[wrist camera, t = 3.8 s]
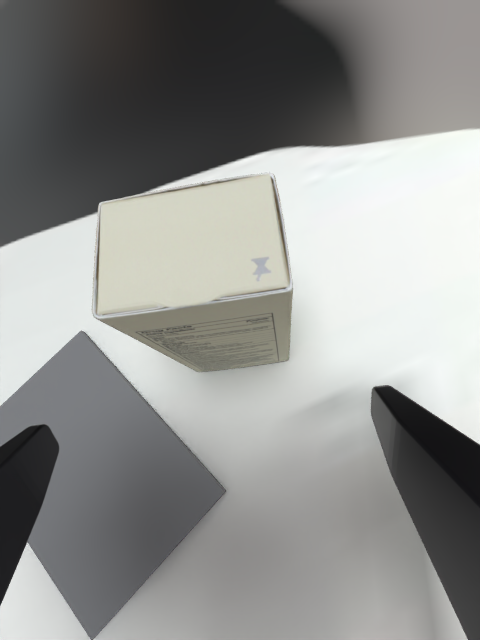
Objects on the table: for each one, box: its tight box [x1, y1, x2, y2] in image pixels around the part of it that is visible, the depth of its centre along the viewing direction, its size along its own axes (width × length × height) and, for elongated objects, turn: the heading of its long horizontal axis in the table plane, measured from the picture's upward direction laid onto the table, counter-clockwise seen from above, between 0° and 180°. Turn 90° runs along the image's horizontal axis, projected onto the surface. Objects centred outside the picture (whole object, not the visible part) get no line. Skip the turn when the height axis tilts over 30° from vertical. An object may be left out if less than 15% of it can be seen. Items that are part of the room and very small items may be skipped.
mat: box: [0, 331, 226, 640], centre depth 20 cm, size 14×10×1 cm
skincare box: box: [92, 173, 293, 372], centre depth 16 cm, size 6×4×12 cm
